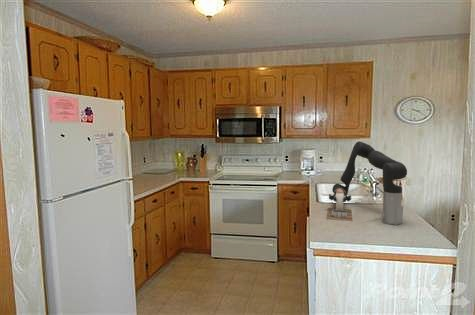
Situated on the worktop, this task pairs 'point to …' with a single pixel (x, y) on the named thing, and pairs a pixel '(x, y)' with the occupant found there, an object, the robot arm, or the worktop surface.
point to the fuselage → (339, 199)
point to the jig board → (348, 218)
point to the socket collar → (339, 213)
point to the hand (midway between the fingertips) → (339, 200)
